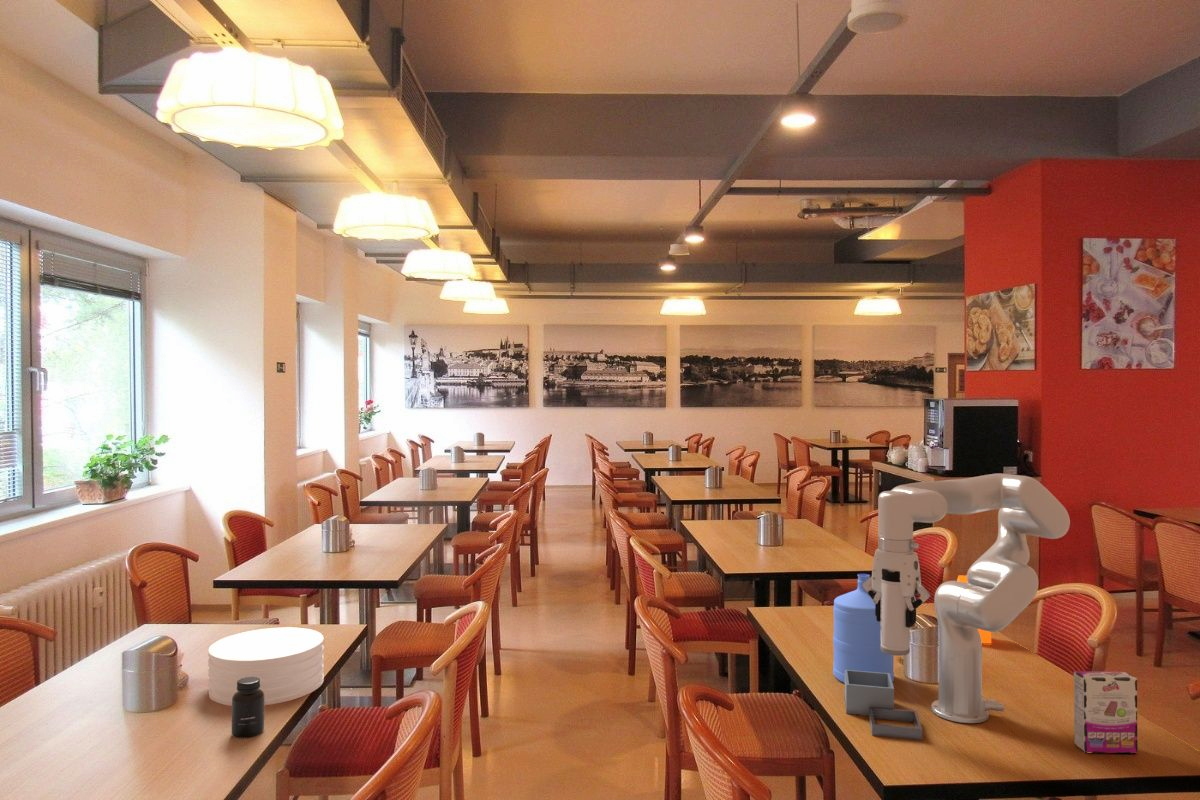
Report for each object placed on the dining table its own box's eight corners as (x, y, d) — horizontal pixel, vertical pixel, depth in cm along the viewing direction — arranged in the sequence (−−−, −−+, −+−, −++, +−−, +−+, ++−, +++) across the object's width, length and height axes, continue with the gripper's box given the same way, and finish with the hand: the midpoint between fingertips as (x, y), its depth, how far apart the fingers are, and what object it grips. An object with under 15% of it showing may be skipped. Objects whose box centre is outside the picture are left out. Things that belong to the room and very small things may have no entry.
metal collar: (916, 721, 191) (916, 711, 191) (922, 740, 181) (922, 729, 181) (868, 717, 193) (868, 706, 193) (872, 735, 183) (872, 724, 183)
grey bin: (889, 701, 203) (889, 673, 203) (893, 718, 193) (894, 688, 193) (844, 697, 206) (844, 669, 206) (846, 713, 196) (846, 684, 195)
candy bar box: (1124, 745, 178) (1125, 670, 178) (1138, 755, 173) (1139, 678, 173) (1072, 743, 179) (1072, 669, 179) (1084, 754, 174) (1085, 677, 174)
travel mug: (914, 650, 187) (914, 564, 187) (903, 657, 182) (903, 569, 182) (887, 645, 191) (887, 560, 191) (876, 652, 187) (876, 565, 186)
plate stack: (203, 713, 196) (203, 666, 196) (213, 675, 222) (212, 633, 222) (326, 697, 206) (326, 652, 206) (321, 663, 232) (321, 623, 232)
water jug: (874, 693, 208) (875, 584, 208) (821, 677, 220) (821, 574, 220) (905, 679, 219) (905, 575, 218) (853, 664, 230) (853, 566, 230)
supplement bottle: (243, 741, 180) (243, 687, 180) (225, 734, 183) (224, 681, 183) (270, 730, 186) (270, 678, 185) (252, 724, 189) (252, 672, 189)
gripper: (940, 548, 183) (939, 627, 183) (867, 538, 195) (867, 612, 196) (926, 553, 178) (926, 634, 178) (852, 542, 190) (852, 619, 190)
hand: (895, 622), depth 187 cm, fingers closed on travel mug, 6 cm apart
